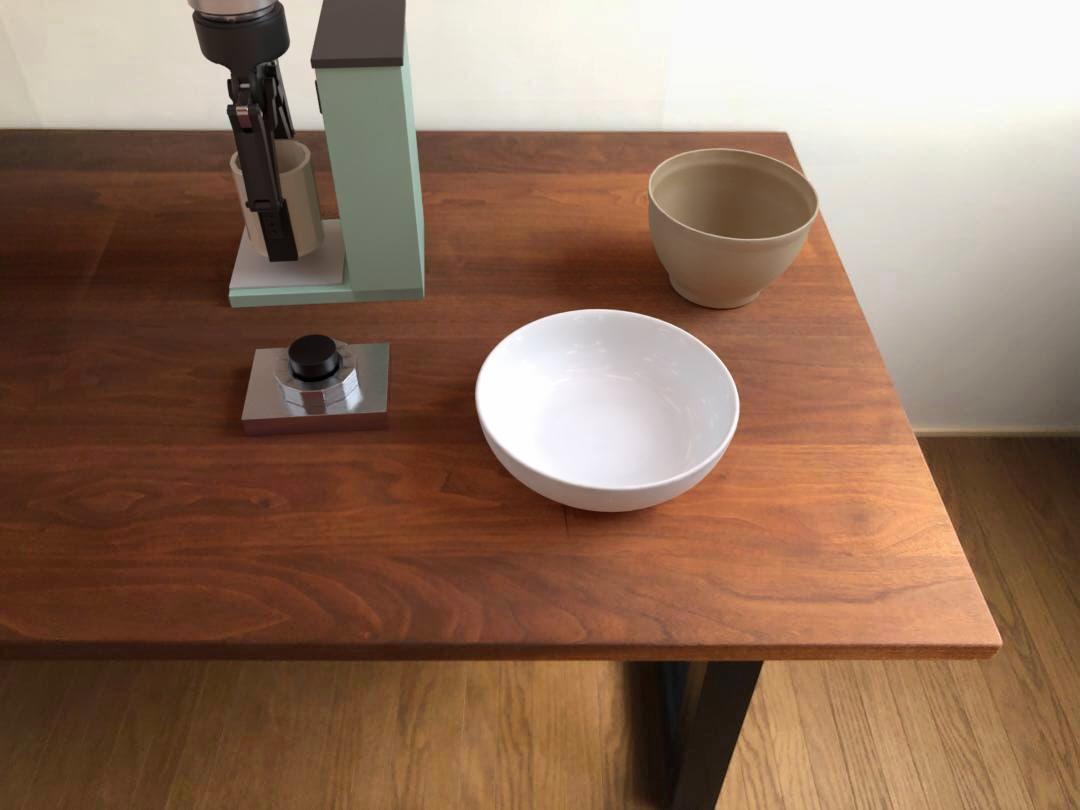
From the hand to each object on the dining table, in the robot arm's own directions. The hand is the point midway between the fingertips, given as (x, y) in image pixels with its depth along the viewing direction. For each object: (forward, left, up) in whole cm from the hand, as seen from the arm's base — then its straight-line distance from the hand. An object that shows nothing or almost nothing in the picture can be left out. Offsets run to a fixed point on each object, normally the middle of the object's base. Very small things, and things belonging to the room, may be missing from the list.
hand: (288, 235), depth 91 cm
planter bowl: (+43, -6, -4) cm, 44 cm away
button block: (+4, -20, -4) cm, 21 cm away
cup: (0, 0, 0) cm, 0 cm away
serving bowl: (+28, -28, -4) cm, 40 cm away
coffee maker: (+4, 0, -4) cm, 6 cm away
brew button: (+4, -20, 0) cm, 20 cm away
